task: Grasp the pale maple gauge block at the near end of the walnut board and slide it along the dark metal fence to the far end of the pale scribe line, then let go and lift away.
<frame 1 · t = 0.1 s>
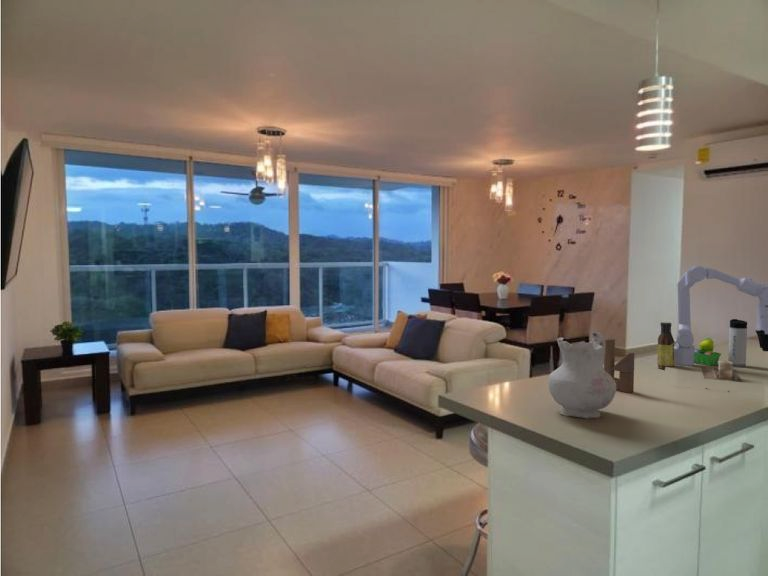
hand: (764, 349, 201), 10 cm above the counter, tool pointing down, fingers open, 7 cm apart
walnut board: (720, 377, 197), on the counter
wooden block: (617, 389, 182), on the counter
fruit basket: (704, 363, 223), on the counter
ceramic pitcher: (582, 412, 156), on the counter
travel mug: (736, 365, 218), on the counter
sauce bottle: (665, 369, 214), on the counter
maple gauge block: (725, 377, 191), point 1 cm above the counter, touching walnut board
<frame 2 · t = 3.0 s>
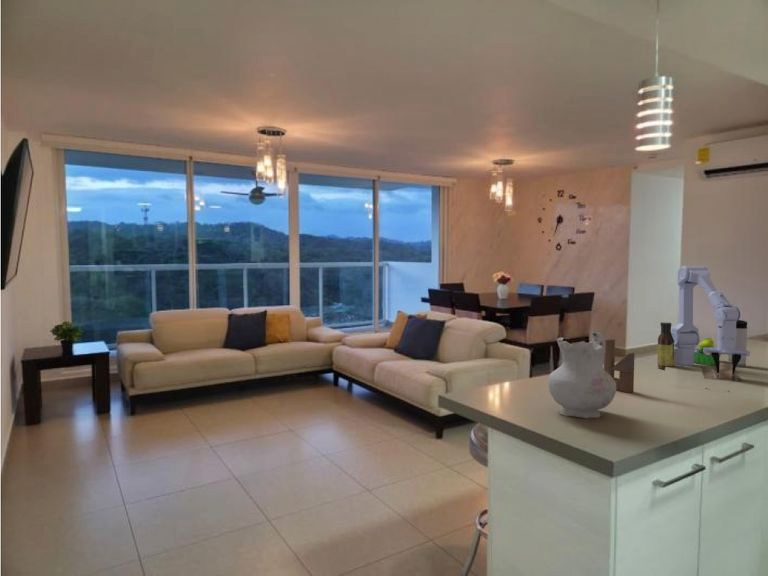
hand: (725, 373, 191), 3 cm above the counter, tool pointing down, fingers closed on maple gauge block, 4 cm apart
maple gauge block: (725, 377, 191), point 1 cm above the counter, touching gripper, walnut board
everything else where it was.
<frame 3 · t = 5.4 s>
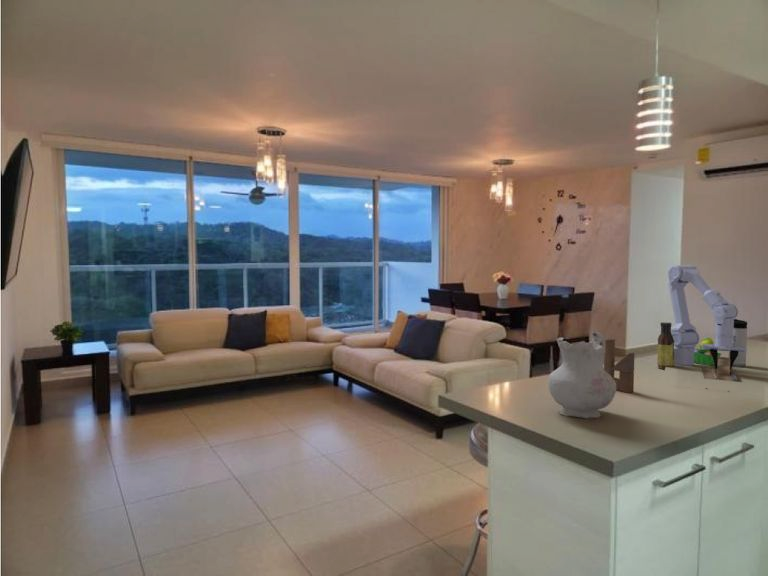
hand: (723, 368, 198), 3 cm above the counter, tool pointing down, fingers closed on maple gauge block, 4 cm apart
maple gauge block: (722, 373, 198), point 2 cm above the counter, touching gripper
everything else where it was.
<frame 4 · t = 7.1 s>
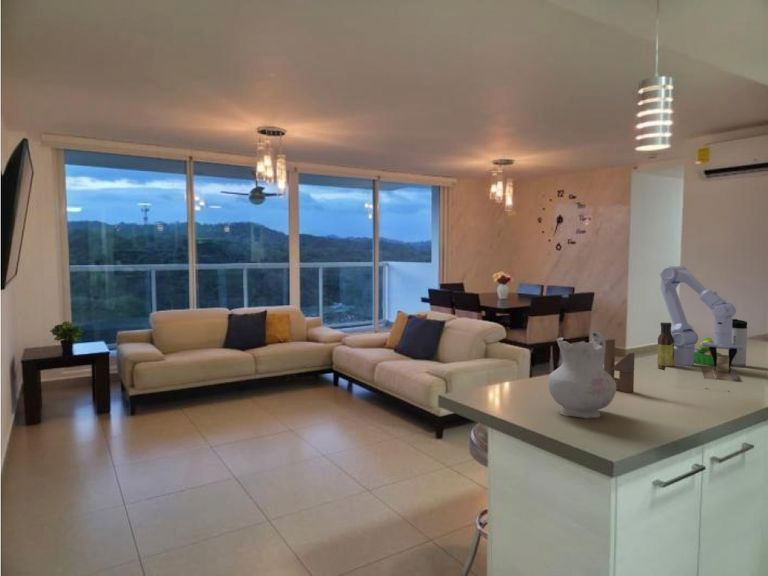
hand: (722, 366, 202), 3 cm above the counter, tool pointing down, fingers closed on maple gauge block, 4 cm apart
maple gauge block: (722, 370, 203), point 2 cm above the counter, touching gripper
everything else where it was.
when the fingers open (3 cm above the counter, at t = 8.0 s): maple gauge block stays where it is, resting on walnut board.
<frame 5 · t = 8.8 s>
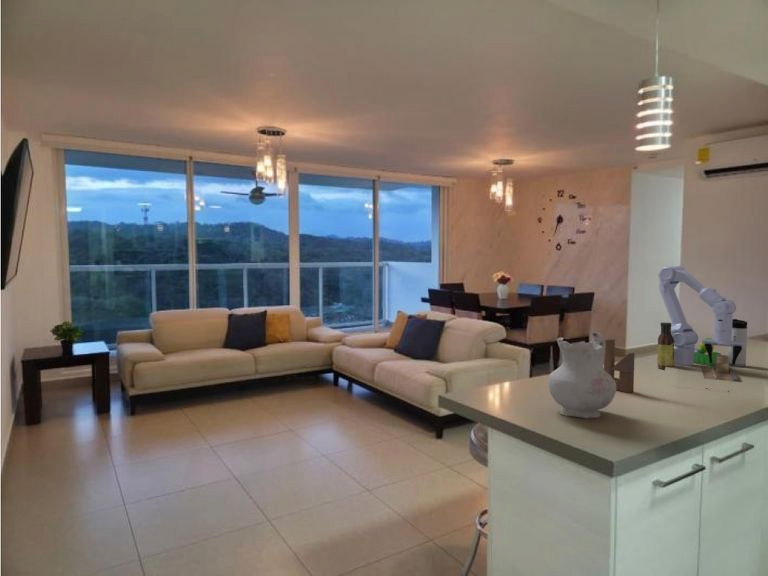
hand: (722, 363, 202), 4 cm above the counter, tool pointing down, fingers open, 7 cm apart
maple gauge block: (721, 370, 203), point 1 cm above the counter, touching walnut board
everything else where it was.
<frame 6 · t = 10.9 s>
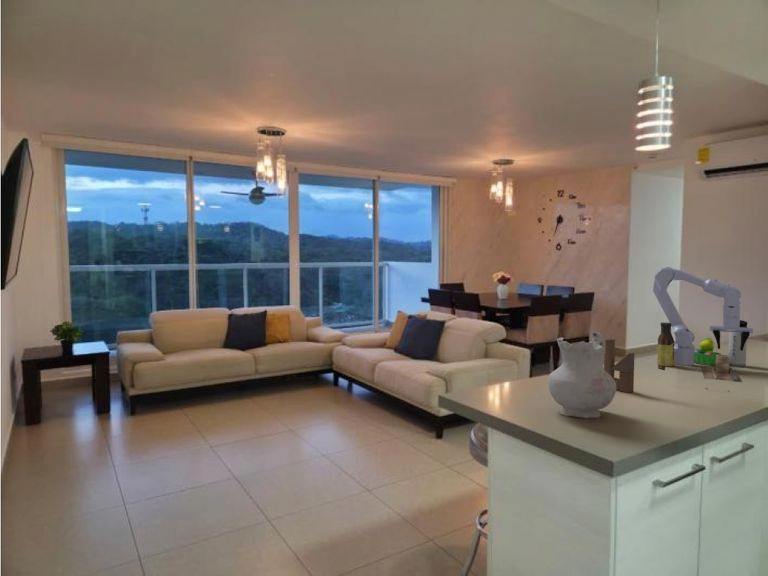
hand: (730, 349, 206), 9 cm above the counter, tool pointing down, fingers open, 7 cm apart
nothing on the counter moved.
at the end: maple gauge block 0.0 cm from the target spot, point 1.5 cm above the counter; maple gauge block tilted 0°; the gripper is holding nothing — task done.
